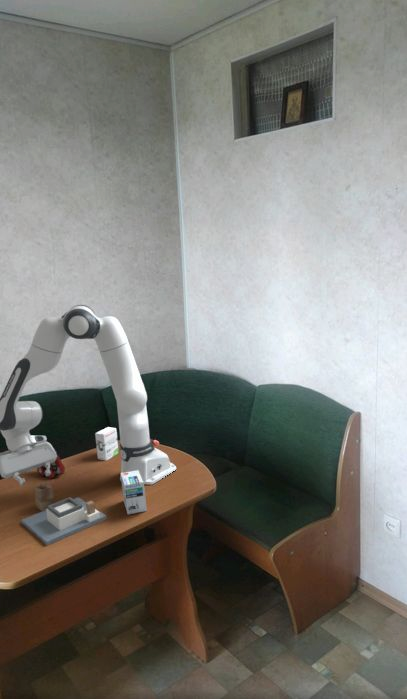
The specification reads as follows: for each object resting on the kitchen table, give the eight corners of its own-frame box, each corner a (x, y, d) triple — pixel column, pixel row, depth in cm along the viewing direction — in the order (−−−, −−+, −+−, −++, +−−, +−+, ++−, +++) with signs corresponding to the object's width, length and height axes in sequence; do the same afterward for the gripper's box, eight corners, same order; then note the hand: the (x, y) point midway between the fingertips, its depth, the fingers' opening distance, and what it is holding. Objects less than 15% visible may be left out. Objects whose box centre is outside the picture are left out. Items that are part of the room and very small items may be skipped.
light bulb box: (147, 511, 179) (144, 481, 177) (127, 515, 177) (124, 485, 175) (141, 497, 189) (139, 469, 187) (122, 500, 188) (120, 472, 185)
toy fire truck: (55, 481, 207) (52, 455, 205) (35, 474, 214) (31, 450, 212) (69, 474, 212) (66, 449, 210) (49, 467, 220) (46, 444, 217)
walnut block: (48, 502, 190) (45, 481, 188) (54, 506, 186) (51, 484, 184) (36, 507, 187) (33, 485, 185) (42, 511, 183) (39, 489, 182)
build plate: (78, 500, 190) (76, 483, 188) (106, 519, 176) (104, 500, 174) (21, 523, 176) (19, 504, 175) (47, 545, 162) (44, 525, 161)
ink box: (110, 451, 232) (107, 426, 230) (119, 453, 230) (116, 427, 228) (97, 459, 225) (94, 432, 223) (106, 461, 223) (103, 434, 220)
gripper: (-6, 450, 185) (8, 485, 180) (49, 434, 198) (64, 466, 193) (-9, 459, 189) (5, 493, 184) (45, 442, 202) (60, 474, 197)
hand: (36, 479), depth 188 cm, fingers open, 8 cm apart
